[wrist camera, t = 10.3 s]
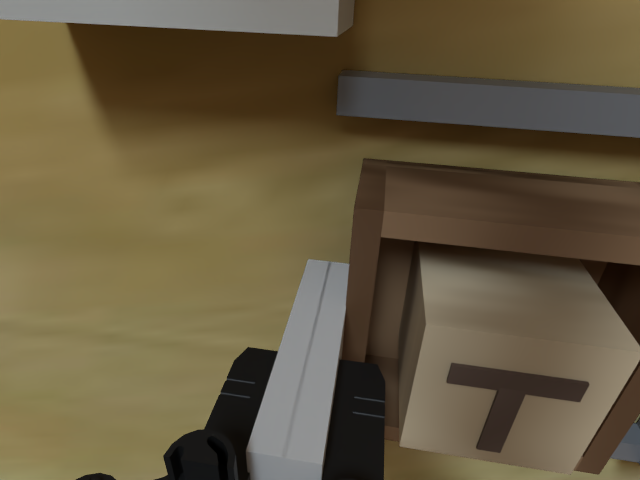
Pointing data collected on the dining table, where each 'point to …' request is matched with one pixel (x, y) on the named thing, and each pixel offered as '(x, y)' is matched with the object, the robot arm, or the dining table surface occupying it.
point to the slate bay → (497, 119)
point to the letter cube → (507, 356)
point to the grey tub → (194, 14)
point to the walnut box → (490, 233)
